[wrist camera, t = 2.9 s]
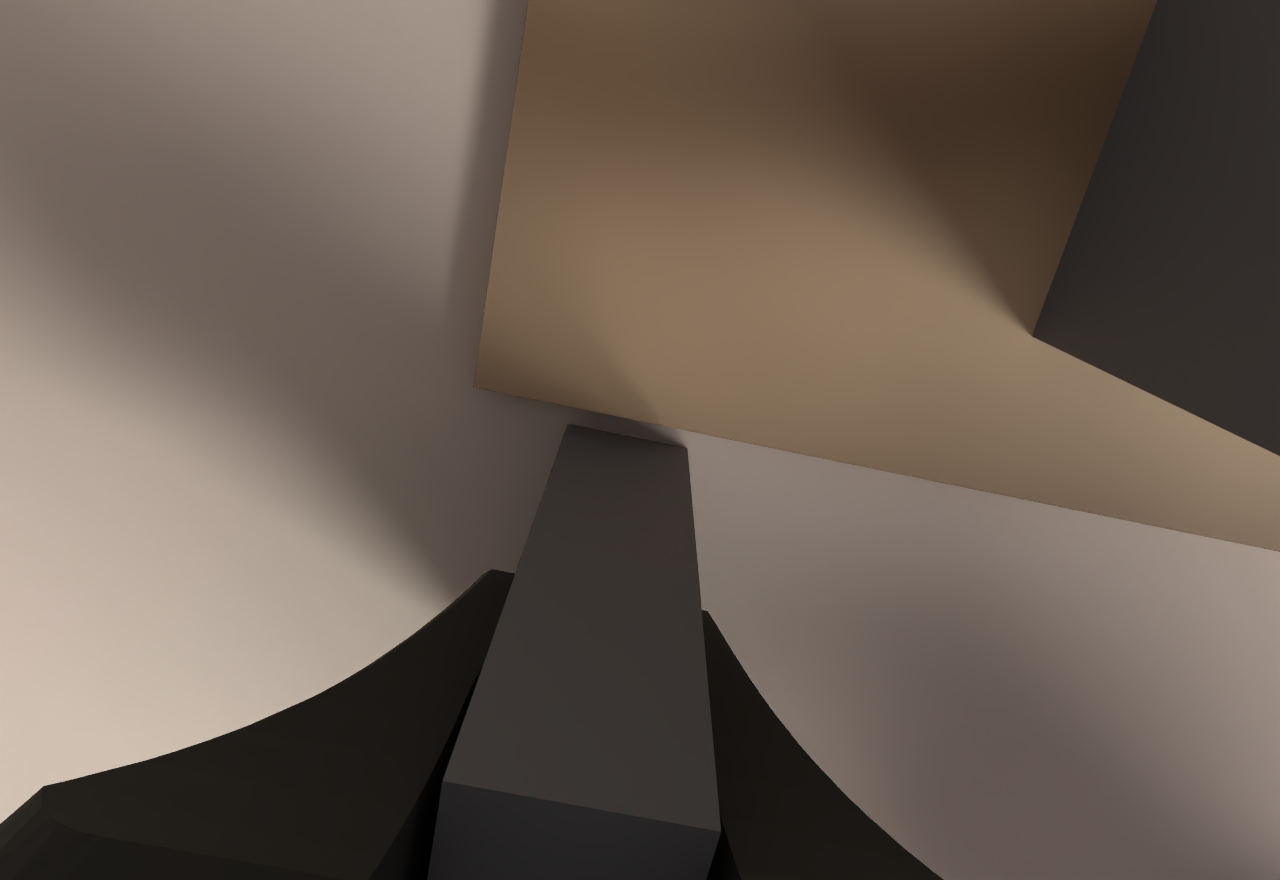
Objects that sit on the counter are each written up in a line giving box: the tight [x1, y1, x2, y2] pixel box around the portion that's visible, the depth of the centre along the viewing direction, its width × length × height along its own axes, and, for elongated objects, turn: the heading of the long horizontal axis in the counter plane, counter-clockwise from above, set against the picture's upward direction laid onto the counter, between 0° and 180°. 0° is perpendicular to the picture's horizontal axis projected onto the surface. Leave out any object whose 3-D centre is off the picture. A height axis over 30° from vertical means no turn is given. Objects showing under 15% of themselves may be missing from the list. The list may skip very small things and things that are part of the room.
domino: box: [427, 424, 721, 880], centre depth 10 cm, size 2×5×8 cm, turn 168°
